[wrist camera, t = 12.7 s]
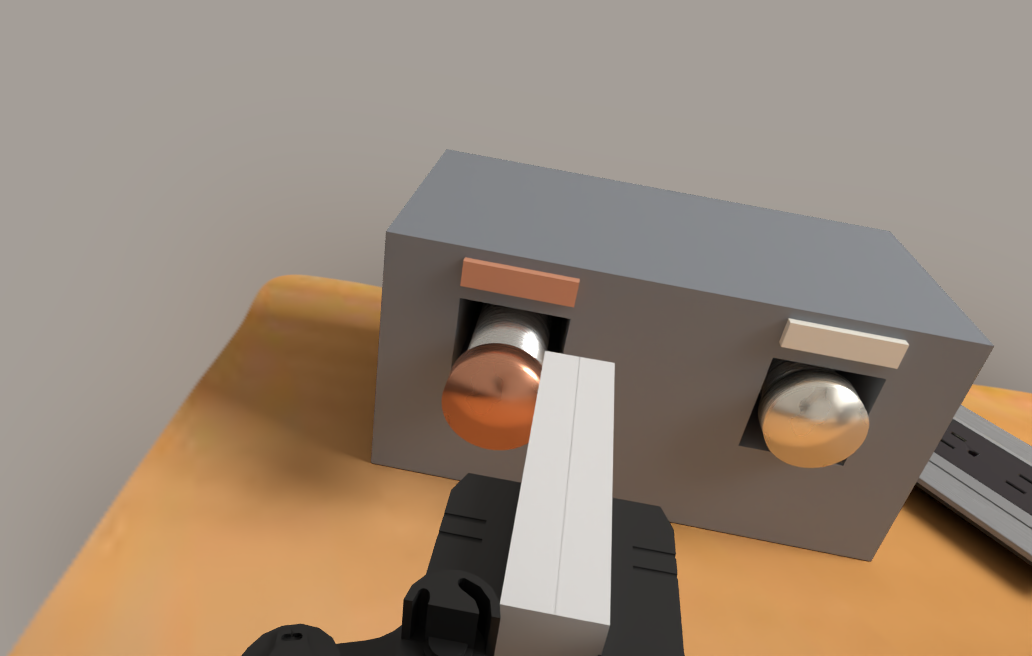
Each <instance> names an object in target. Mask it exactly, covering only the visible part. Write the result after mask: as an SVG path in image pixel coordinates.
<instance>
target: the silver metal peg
mask: <svg viewBox="0 0 1032 656" xmlns="http://www.w3.org/2000/svg"><path fill="white" fill-rule="evenodd" d="M760 396H761V399H760V402H759V406H758V418H759V422H760V425H761V429H762V432H763V436H764V439H765V442H766V444H767V446H768V448H769V450H770V451H771V452H772V453H773V454H774V455H775V456H776V457H777V458H779V459H780V460H781V461H783V462H785V463H788V464H790V465H793V466H797V467H803V468H819V467H825V466H829V465H832V464H835V463H838V462H840V461H842V460H844V459H846V458H847V457H849V456H850V455H852V454H853V453H854V452H855V451H856V450H857V449H858V448H859V447H860V446H861V445H862V443H863V442H864V440H865V438H866V436H867V433H868V429H869V417H868V414H867V411H866V409H865V407H864V405H863V403H862V402H861V400H860V398H859V396H858V394H857V392H856V390H855V388H854V387H853V385H852V384H851V383H850V382H849V381H848V380H847V379H846V378H844V377H843V376H841V375H839V374H837V373H836V372H835V370H834V369H831V368H825V367H820V366H815V365H810V364H804V363H799V362H794V361H789V360H783V359H778V358H773V359H772V361H771V364H770V366H769V369H768V372H767V374H766V377H765V379H764V382H763V384H762V387H761V389H760Z"/></svg>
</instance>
